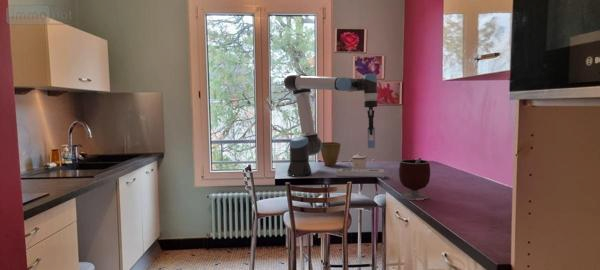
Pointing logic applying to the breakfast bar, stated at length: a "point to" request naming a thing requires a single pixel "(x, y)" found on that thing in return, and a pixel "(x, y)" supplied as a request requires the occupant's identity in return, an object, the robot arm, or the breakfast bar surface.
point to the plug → (371, 143)
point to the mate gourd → (414, 177)
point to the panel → (361, 172)
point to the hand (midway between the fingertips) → (371, 140)
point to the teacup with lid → (358, 161)
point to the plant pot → (330, 152)
